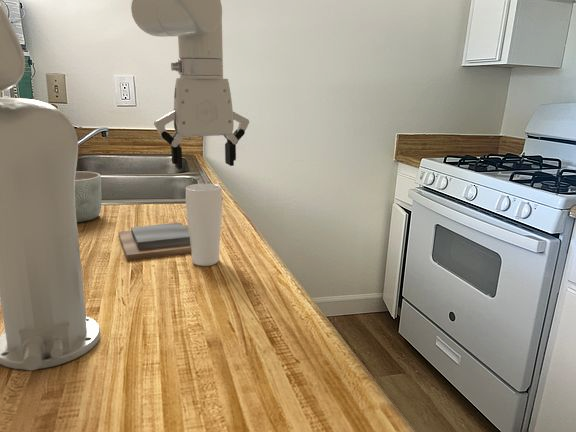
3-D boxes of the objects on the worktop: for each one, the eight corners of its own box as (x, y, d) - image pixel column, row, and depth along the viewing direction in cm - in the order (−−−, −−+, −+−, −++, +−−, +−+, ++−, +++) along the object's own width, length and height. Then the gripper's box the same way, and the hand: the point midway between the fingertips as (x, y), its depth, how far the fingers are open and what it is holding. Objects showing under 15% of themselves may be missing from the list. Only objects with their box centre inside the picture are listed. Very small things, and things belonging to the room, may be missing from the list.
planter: (45, 216, 122) (40, 174, 119) (95, 209, 129) (92, 169, 126) (57, 228, 112) (52, 182, 109) (110, 220, 120) (107, 177, 117)
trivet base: (207, 251, 100) (207, 238, 99) (127, 260, 93) (126, 247, 93) (189, 229, 114) (189, 218, 113) (118, 236, 107) (117, 225, 107)
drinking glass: (180, 264, 92) (177, 188, 88) (202, 253, 98) (200, 182, 94) (209, 271, 89) (207, 192, 85) (229, 260, 95) (229, 186, 91)
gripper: (154, 69, 77) (161, 173, 82) (255, 71, 84) (255, 167, 89) (147, 69, 84) (153, 165, 89) (241, 71, 91) (242, 160, 96)
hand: (204, 166), depth 89 cm, fingers open, 9 cm apart
